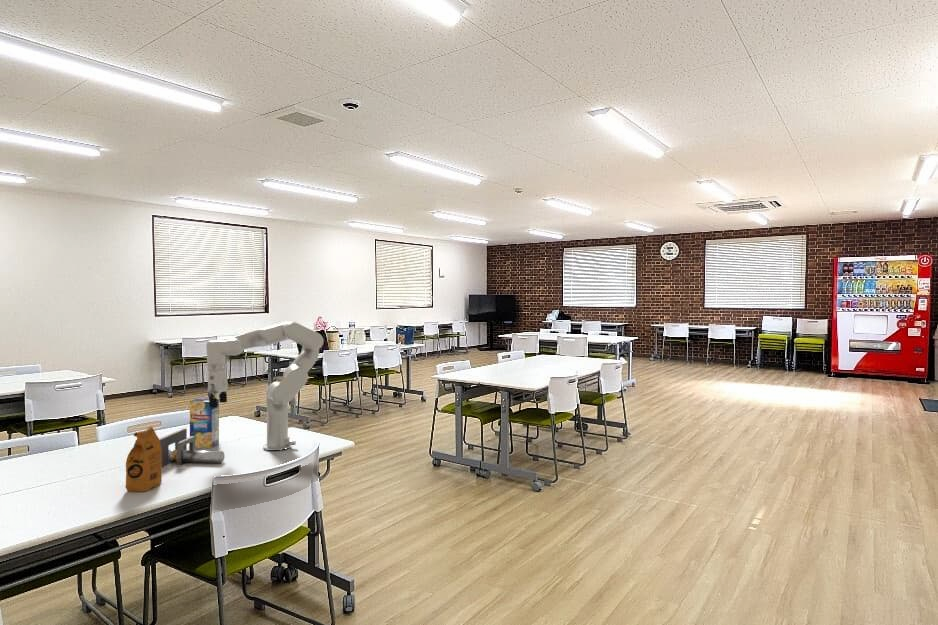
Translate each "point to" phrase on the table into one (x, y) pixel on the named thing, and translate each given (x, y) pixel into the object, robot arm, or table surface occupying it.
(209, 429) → the blue food box
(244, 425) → the table surface
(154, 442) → the coffee package
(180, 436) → the plate
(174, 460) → the steel tube
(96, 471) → the table surface
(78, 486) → the table surface
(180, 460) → the collar
